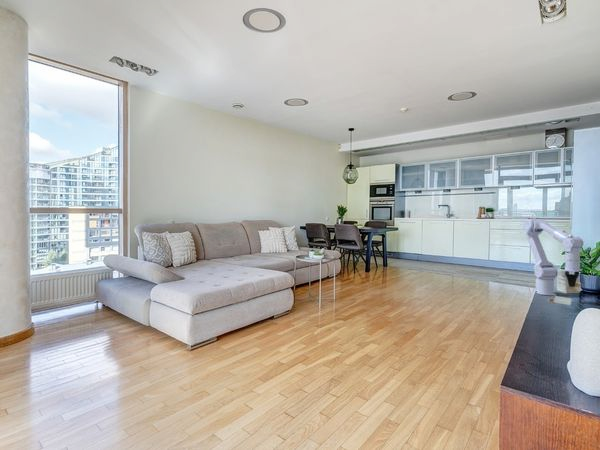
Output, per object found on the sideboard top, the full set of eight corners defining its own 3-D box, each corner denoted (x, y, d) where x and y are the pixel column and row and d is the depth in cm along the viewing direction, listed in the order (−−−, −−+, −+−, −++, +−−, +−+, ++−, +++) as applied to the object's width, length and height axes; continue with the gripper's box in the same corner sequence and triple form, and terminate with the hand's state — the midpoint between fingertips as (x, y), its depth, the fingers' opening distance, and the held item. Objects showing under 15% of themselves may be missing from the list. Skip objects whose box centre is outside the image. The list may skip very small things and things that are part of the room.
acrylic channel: (554, 302, 161) (554, 298, 161) (555, 299, 166) (555, 296, 166) (570, 305, 157) (570, 301, 156) (571, 302, 161) (571, 298, 161)
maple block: (567, 289, 162) (568, 282, 162) (567, 288, 165) (568, 281, 165) (580, 291, 158) (580, 284, 158) (580, 290, 161) (581, 282, 161)
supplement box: (569, 290, 185) (570, 269, 184) (579, 293, 177) (580, 271, 177) (556, 290, 185) (556, 269, 185) (565, 293, 178) (566, 271, 178)
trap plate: (547, 301, 163) (547, 301, 163) (548, 299, 168) (548, 298, 168) (554, 302, 161) (554, 302, 161) (554, 299, 166) (554, 299, 166)
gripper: (582, 262, 154) (582, 289, 154) (582, 259, 164) (582, 284, 165) (564, 261, 158) (563, 287, 159) (565, 258, 169) (564, 282, 170)
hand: (571, 285), depth 162 cm, fingers closed on maple block, 4 cm apart
